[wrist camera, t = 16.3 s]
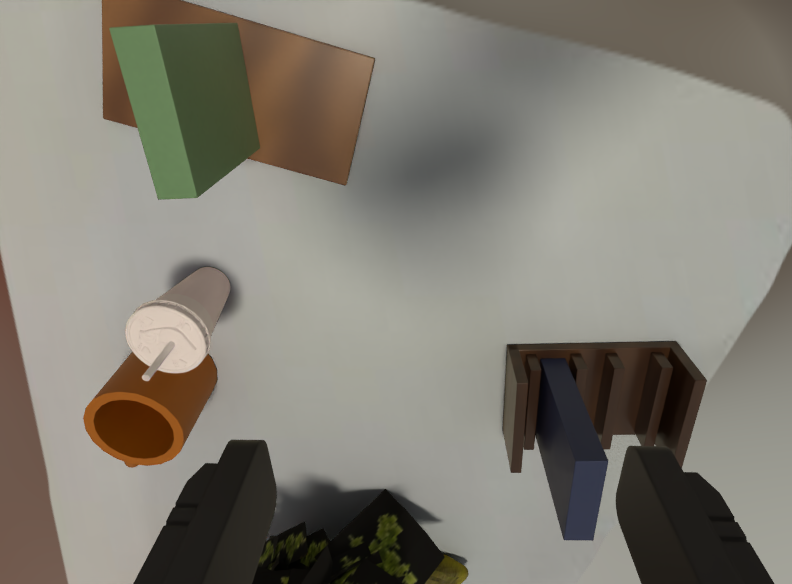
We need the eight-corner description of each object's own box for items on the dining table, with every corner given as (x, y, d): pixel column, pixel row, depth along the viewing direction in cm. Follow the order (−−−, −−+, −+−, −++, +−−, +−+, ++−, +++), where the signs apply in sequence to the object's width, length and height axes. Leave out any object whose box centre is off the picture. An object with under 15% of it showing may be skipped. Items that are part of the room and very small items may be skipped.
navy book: (565, 357, 49) (608, 461, 37) (556, 428, 53) (593, 540, 42) (540, 358, 49) (575, 461, 38) (533, 428, 53) (563, 540, 42)
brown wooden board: (375, 58, 38) (374, 58, 38) (346, 183, 43) (345, 186, 42) (105, -23, 37) (101, -24, 36) (106, 117, 41) (102, 118, 41)
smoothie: (239, 321, 50) (179, 420, 38) (174, 303, 49) (91, 398, 37) (249, 264, 47) (187, 352, 35) (180, 244, 46) (91, 327, 34)
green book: (237, 22, 37) (154, 24, 26) (260, 148, 41) (197, 198, 30) (205, 25, 37) (108, 27, 26) (231, 149, 41) (157, 199, 30)
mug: (110, 394, 55) (58, 457, 47) (151, 318, 50) (100, 374, 42) (186, 431, 57) (148, 498, 49) (233, 362, 52) (199, 423, 44)
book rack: (676, 340, 49) (707, 380, 43) (655, 427, 54) (680, 472, 48) (507, 344, 50) (517, 383, 44) (502, 429, 55) (510, 472, 50)
